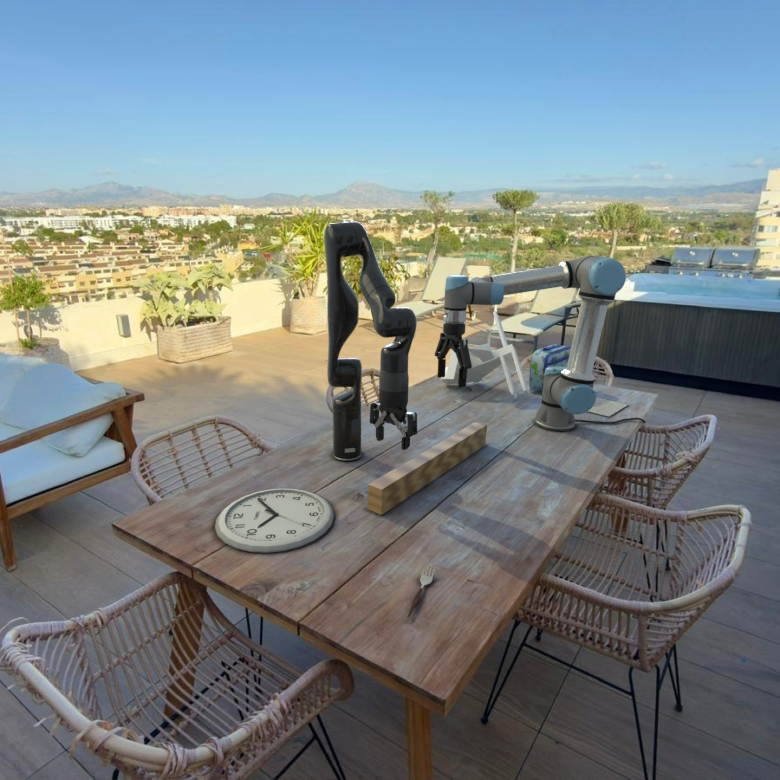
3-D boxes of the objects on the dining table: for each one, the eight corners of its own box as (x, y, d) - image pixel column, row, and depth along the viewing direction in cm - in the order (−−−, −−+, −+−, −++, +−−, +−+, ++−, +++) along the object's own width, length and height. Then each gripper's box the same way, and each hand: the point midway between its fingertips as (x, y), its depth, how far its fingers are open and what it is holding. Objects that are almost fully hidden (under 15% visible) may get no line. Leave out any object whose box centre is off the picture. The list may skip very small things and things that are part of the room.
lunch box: (545, 397, 238) (550, 352, 231) (524, 391, 245) (529, 348, 239) (572, 386, 255) (578, 344, 249) (552, 381, 262) (557, 340, 256)
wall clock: (332, 544, 122) (200, 548, 120) (332, 550, 123) (201, 555, 120) (334, 484, 151) (228, 486, 148) (334, 489, 151) (228, 491, 149)
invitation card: (608, 416, 214) (573, 407, 224) (608, 416, 214) (573, 408, 224) (628, 404, 229) (594, 396, 238) (628, 405, 229) (594, 397, 238)
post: (473, 441, 187) (475, 421, 185) (485, 444, 184) (487, 424, 182) (367, 509, 141) (367, 484, 139) (381, 515, 138) (381, 489, 136)
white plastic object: (461, 429, 252) (437, 405, 227) (444, 352, 274) (420, 323, 250) (535, 404, 240) (518, 377, 215) (510, 326, 262) (492, 293, 237)
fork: (401, 617, 102) (401, 609, 101) (424, 570, 116) (425, 562, 116) (414, 621, 101) (414, 612, 100) (436, 572, 115) (436, 565, 115)
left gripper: (363, 383, 135) (363, 441, 140) (406, 395, 126) (404, 456, 131) (382, 377, 141) (381, 433, 146) (424, 388, 132) (422, 447, 137)
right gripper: (426, 316, 186) (424, 374, 193) (465, 329, 165) (461, 393, 171) (444, 315, 189) (442, 372, 196) (485, 327, 168) (480, 390, 174)
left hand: (392, 444), depth 138 cm, fingers open, 8 cm apart
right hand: (451, 382), depth 184 cm, fingers open, 13 cm apart
